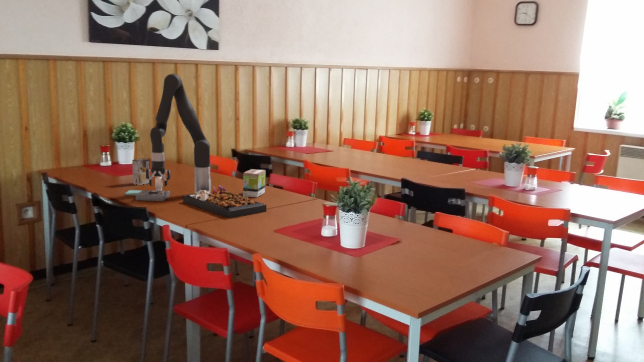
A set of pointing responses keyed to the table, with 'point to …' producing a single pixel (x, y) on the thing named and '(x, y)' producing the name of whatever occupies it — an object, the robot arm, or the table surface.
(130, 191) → the teal square tile
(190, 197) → the food platter
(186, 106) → the robot arm
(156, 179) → the cream rounded tapered piece
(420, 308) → the table surface
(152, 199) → the socket block
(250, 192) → the tea box
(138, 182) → the coffee box
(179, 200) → the table surface
